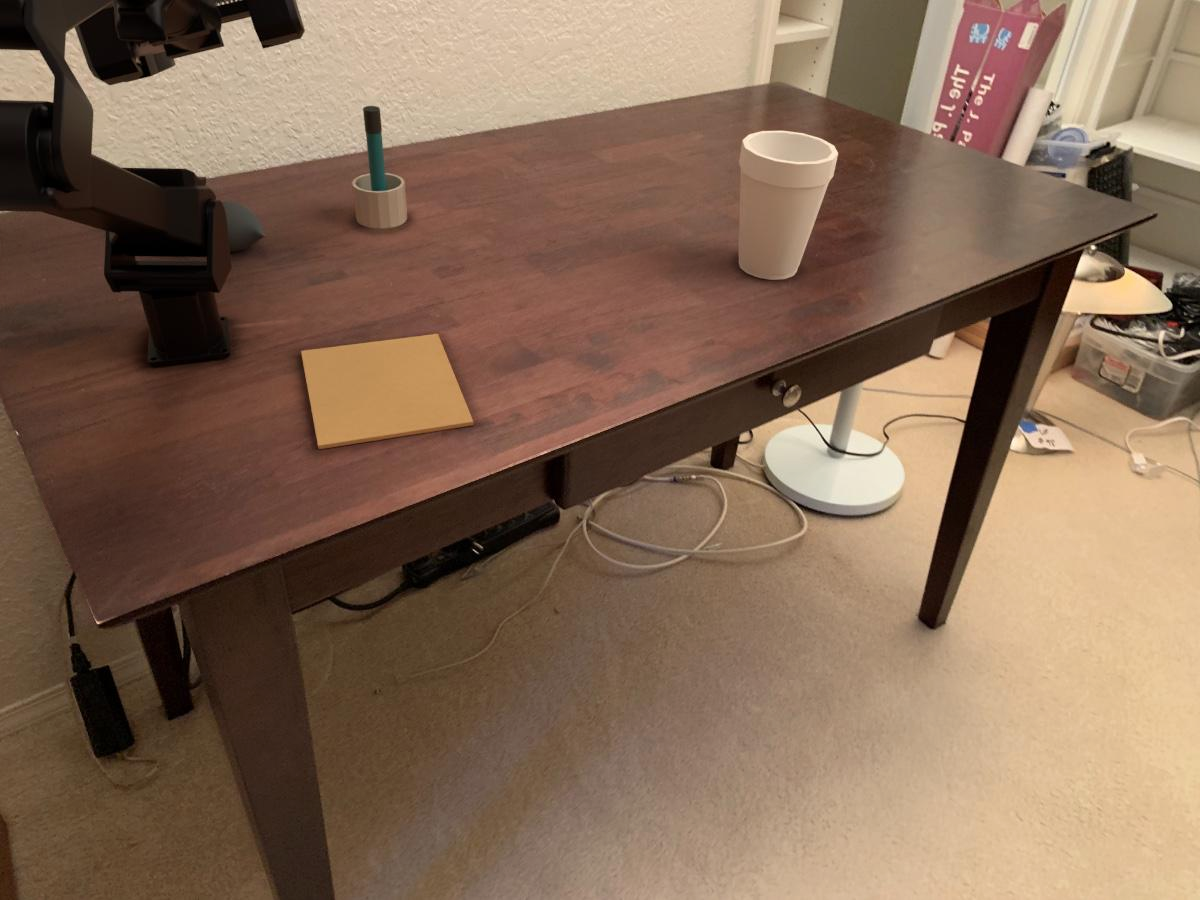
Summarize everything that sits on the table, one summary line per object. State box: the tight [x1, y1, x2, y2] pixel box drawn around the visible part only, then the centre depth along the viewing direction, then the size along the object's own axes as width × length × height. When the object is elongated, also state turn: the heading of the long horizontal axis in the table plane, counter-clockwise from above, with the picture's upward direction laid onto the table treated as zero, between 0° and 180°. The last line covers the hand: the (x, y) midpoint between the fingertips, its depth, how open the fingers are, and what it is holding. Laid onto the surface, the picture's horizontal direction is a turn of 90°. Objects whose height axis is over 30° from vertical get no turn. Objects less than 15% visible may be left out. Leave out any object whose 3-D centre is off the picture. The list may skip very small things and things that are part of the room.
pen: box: [362, 105, 387, 191], centre depth 98 cm, size 2×2×12 cm
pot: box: [351, 172, 408, 230], centre depth 101 cm, size 6×6×4 cm
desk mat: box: [300, 333, 474, 450], centre depth 76 cm, size 14×12×1 cm
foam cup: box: [738, 130, 839, 281], centre depth 95 cm, size 10×9×13 cm
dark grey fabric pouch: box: [221, 200, 266, 253], centre depth 94 cm, size 20×5×5 cm, turn 77°
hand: (218, 48), depth 90 cm, fingers open, 9 cm apart
